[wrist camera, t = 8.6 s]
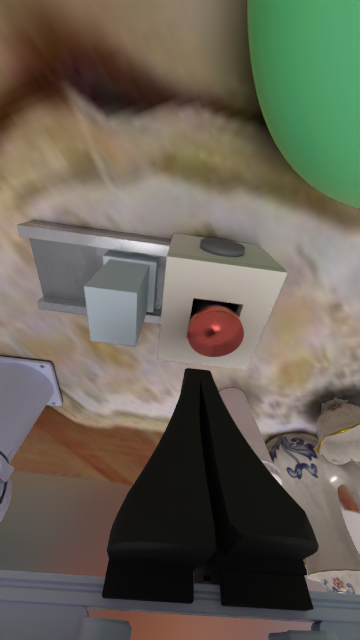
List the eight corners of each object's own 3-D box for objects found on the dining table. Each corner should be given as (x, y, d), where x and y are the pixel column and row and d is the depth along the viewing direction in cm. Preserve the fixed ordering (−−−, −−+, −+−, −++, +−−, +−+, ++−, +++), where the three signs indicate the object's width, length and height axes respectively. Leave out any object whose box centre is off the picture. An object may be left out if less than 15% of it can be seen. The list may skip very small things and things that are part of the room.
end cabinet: (164, 317, 22) (157, 359, 17) (173, 227, 17) (167, 249, 12) (233, 325, 22) (246, 370, 17) (261, 240, 17) (290, 266, 12)
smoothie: (204, 381, 27) (217, 541, 15) (258, 379, 26) (314, 544, 14) (206, 412, 30) (216, 562, 18) (253, 411, 30) (295, 565, 18)
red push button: (185, 314, 18) (184, 353, 14) (191, 276, 16) (192, 309, 12) (225, 319, 18) (235, 359, 14) (236, 282, 16) (251, 316, 12)
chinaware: (348, 356, 26) (526, 554, 11) (405, 429, 31) (583, 635, 16) (181, 439, 37) (164, 590, 23) (241, 483, 42) (259, 632, 28)
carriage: (110, 299, 20) (83, 342, 15) (107, 251, 17) (74, 281, 12) (154, 305, 20) (143, 349, 15) (158, 258, 17) (145, 291, 12)
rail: (51, 298, 21) (39, 309, 19) (33, 220, 17) (16, 224, 15) (165, 312, 21) (162, 324, 20) (172, 239, 18) (170, 246, 16)
